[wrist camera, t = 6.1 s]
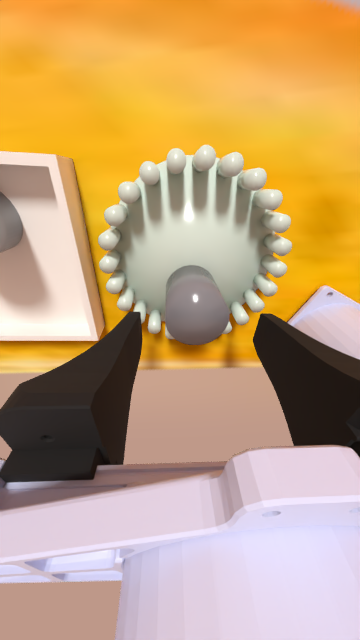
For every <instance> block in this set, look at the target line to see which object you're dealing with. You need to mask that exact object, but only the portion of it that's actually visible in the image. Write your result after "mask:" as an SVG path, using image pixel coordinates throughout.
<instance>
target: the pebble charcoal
mask: <svg viewBox="0 0 360 640" xmlns="http://www.w3.org/2000/svg"><path fill="white" fill-rule="evenodd" d="M228 322H229V310H228V307H227V305H226V303H225V301H224V299H223V297H222V295H221V293H220V291H219V289H218V287H217V285H216V283H215V281H214V279H213V277H212V275H211V274H210V273H209V271H207V270H206V269H204V268H203V267H200V266H196V265H188V266H183V267H181V268H179V269H177V270H176V271H174V272H173V273H172V274H171V275H170V277H169V279H168V281H167V283H166V304H165V323H166V327H167V330H168V332H169V333H170V335H171V336H172V337H173V338H175V339H176V340H177V341H179V342H182V343H184V344H189V345H201V344H205V343H208V342H211V341H213V340H215V339H216V338H218V337H219V336H220V335H221V334H222V333H223V332H224V331H225V329H226V327H227V325H228Z"/></svg>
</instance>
